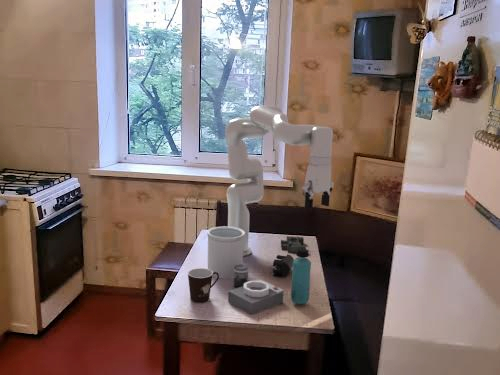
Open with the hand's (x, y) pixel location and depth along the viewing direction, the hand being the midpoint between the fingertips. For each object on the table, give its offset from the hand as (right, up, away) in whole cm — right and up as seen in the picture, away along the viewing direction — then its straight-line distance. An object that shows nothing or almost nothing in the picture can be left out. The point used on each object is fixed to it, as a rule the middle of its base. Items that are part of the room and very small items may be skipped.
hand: (316, 207), depth 166 cm
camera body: (-23, -33, -8) cm, 41 cm away
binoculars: (-4, -22, +50) cm, 55 cm away
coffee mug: (-41, -32, -8) cm, 52 cm away
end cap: (-11, -28, +19) cm, 36 cm away
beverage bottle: (-7, -34, -8) cm, 35 cm away
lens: (-28, -30, +3) cm, 41 cm away
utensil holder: (-35, -28, +16) cm, 47 cm away
